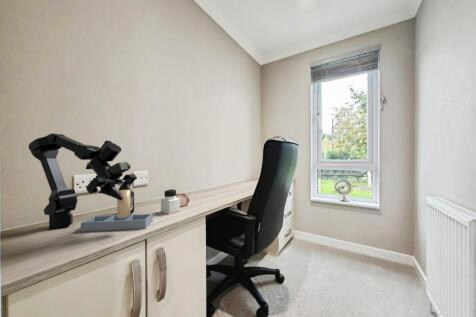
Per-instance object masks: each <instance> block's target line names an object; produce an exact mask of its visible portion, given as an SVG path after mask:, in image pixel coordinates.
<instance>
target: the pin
mask: <svg viewBox="0 0 476 317" xmlns="http://www.w3.org/2000/svg"><path fill="white" fill-rule="evenodd" d="M118 191H119V193H120V194H121V195H122V197H123V199H122V200H119V199H116V204H117V206H116V208H117V210H116V212H117V214H116V215H117V217H118V218H124V217H128V216H130V215H131V214H130V190H118Z"/></svg>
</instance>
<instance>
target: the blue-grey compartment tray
mask: <svg viewBox="0 0 476 317" xmlns="http://www.w3.org/2000/svg"><path fill="white" fill-rule="evenodd" d="M153 216H154V215H153V213H142V214H130V216H128V217H124V218H118V217H117V214H115V215H114V214H113V215H94V216H92V217H89V218H88V219H86V220H84V221H83V220H82V221H81V222H80V232H84V233H85V232H95V231H96V232H102V231H103V232H104V231H121V230H124V231H125V230H143V229H147V228H148V227H149V226H150V225H151V224H152V223H153V218H154V217H153Z"/></svg>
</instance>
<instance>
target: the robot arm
mask: <svg viewBox="0 0 476 317" xmlns="http://www.w3.org/2000/svg"><path fill="white" fill-rule="evenodd" d="M62 148H64V149H66V150H67V151H70V152H72V153H73V154H74V156H75V157H76V158H78V159H79V160H82V161H89V162H87V163H86V166H85V170H92V171H93V172H94V173H95V174H96V175H95V177H93V178H92V179H91V180H90V181H89V183H88V184H87V185H86V187H85V189H86V191H87V193H88V194H89V195H90V194H96V193H97V192H98V190H99V192H98V193H99V194H102V195H106V196H109V197H111V198H114V199H116V200H117V199H119V200H122V199H123V197H122V195H121V194H120V193H119V190H130V198H131V197H132V192H131V190H132V189H131V185H132V184H133V183H134V182H136V180H137V179H138V177H137V176H136V174H135V173H133V174H132V173H130V174H125V175H124V173H125V172H127V171H130V169H131V164H130V163H129V162H127V161H124V162H117V163H115V164H112V165H111V164H110V163H109V162H113V161H114V160H115V159H116V158H117V156H118V155H119V154H120V153H121V152H122V148H121V146H120V145H118V144H116V143H114V142H112V141H111V140H105V141H104V142H103V144H102V145H101V147H99V146H96V145H91V144H84V143H82V142H80V141H77V140H76V139H75V140H74V139H73V138H71V137H68V136H66V135H65V134H61V133H49V134H47V135H45V136H42V137H38V138H36V139H33V140H32V141H31V142H30V143H29V144H28V150H29V151H30V153H31V155H32V156H33V157H34V158H35V159H37V161H39V162H40V163H41V167H42V169H43V173H44V175H45V178H46V180H47V183H48V186H49V189H50V191H51V192H50V195H49V196H48V204H47V205H46V206H45V207H44V209H43V213H44V215H45V216H48V218H49V219H48V228H47V229H46V230H47V231H50V230H51V231H52V230H59V229H66V228H69V227H70V226H71V225H72V224H73V222H74V221H73V219H74V218H73V216H74V214H73V213H72V211H75V210H76V207H77V204H78V195H77V194H76V190H75V189H74V188H71V189H70V188H69V187H67V183H66V182H65V178H64V175H63V173H62V170H61V168H60V165H59V163H58V160H57V156H58V154H59V150H60V149H62ZM123 175H124V176H123ZM116 185H117V186H119V187H118V188H117V187H116ZM98 188H99V189H98Z"/></svg>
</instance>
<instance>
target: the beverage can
mask: <svg viewBox="0 0 476 317" xmlns="http://www.w3.org/2000/svg"><path fill="white" fill-rule="evenodd" d="M131 192H132V197H131V198H130V215H133V213H134V212H135V192H134V190H133V189H131Z"/></svg>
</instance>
